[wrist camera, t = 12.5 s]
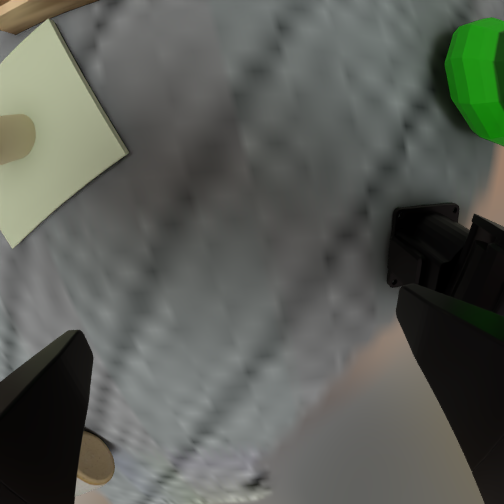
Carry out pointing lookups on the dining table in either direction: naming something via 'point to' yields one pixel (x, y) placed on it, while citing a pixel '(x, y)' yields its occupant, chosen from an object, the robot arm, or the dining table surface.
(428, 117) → the dining table surface
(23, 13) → the oak box
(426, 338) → the robot arm
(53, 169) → the beige peg on base
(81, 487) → the ceramic mug
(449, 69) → the plastic bottle
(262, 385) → the dining table surface
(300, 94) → the dining table surface
